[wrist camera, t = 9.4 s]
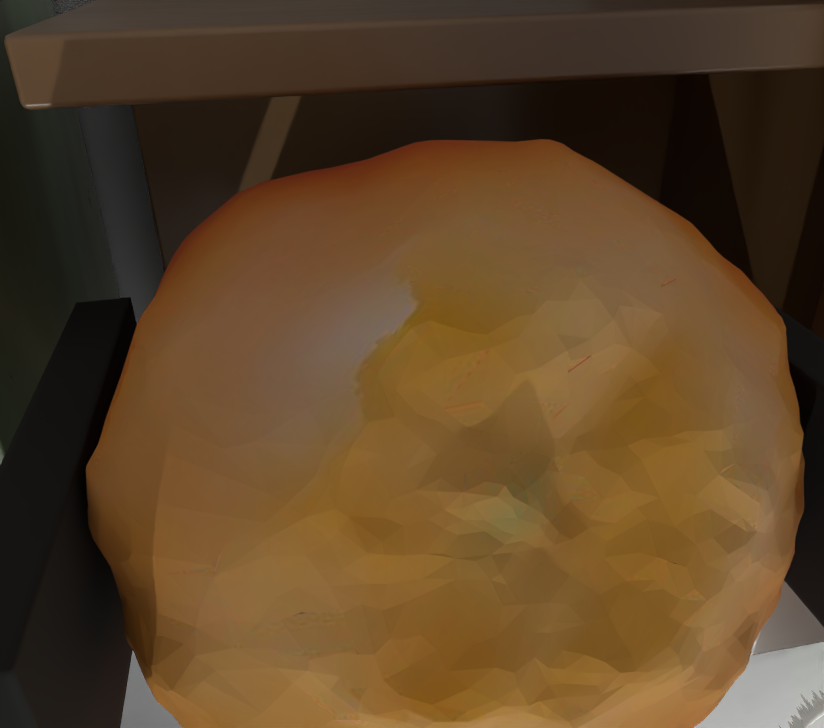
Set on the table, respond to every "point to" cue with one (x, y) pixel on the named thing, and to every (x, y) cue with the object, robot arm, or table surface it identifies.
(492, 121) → the drawer
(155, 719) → the table surface
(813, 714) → the white dragon
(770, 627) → the cabinet
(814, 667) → the table surface
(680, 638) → the fruit
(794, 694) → the table surface
